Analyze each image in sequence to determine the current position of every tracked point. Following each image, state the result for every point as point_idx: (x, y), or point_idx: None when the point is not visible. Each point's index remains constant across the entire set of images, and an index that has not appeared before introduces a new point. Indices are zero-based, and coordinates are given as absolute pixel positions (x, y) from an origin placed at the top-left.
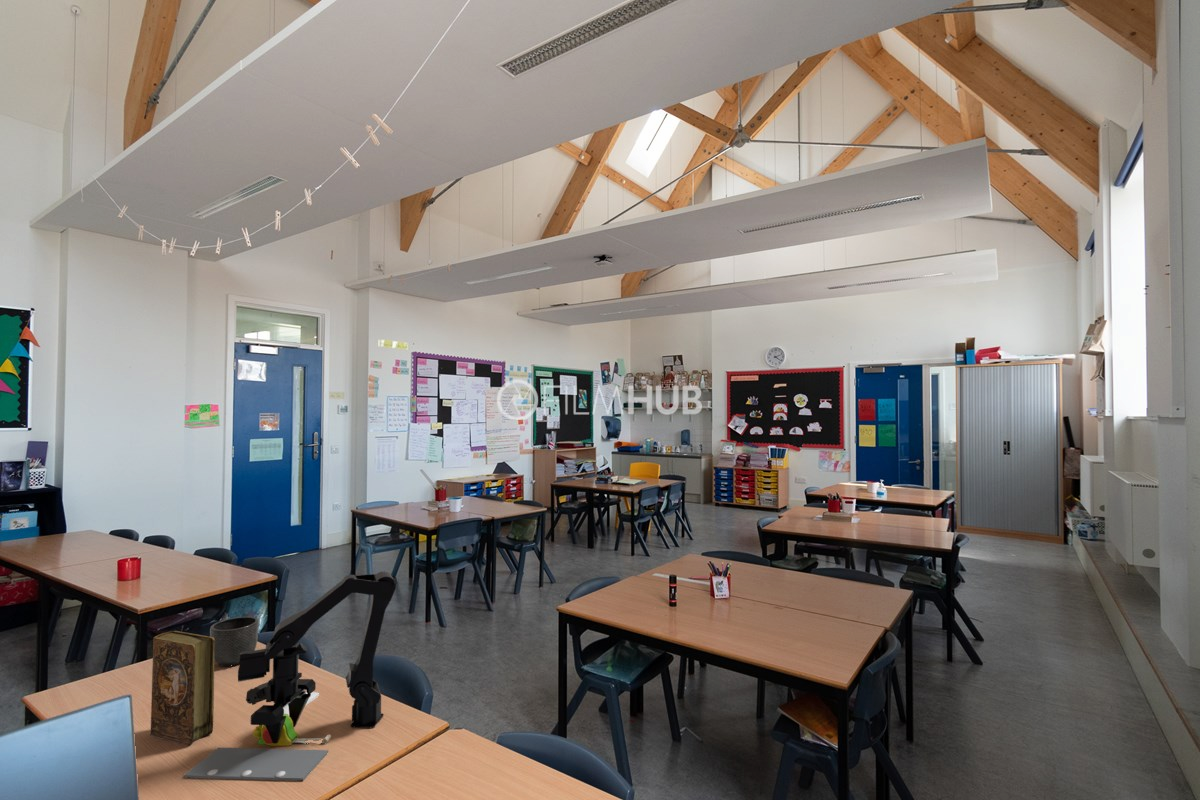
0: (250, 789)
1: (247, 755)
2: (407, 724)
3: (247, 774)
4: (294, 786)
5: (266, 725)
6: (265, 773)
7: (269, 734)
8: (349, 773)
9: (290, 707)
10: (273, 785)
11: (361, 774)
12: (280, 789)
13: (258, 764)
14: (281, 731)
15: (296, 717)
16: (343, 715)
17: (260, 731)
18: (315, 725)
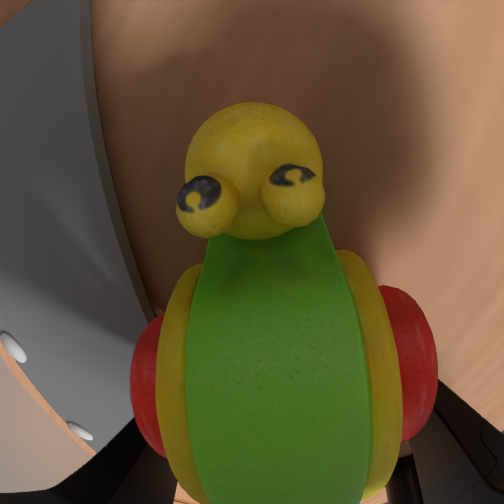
0: (17, 376)
1: (56, 264)
2: (377, 497)
3: (13, 356)
4: (89, 447)
5: (62, 492)
6: (54, 399)
7: (121, 430)
8: (179, 495)
9: (470, 481)
10: (59, 417)
11: (185, 501)
12: (65, 430)
13: (57, 361)
14: (175, 477)
15: (415, 443)
16: (484, 403)
17: (226, 232)
18: (446, 379)
